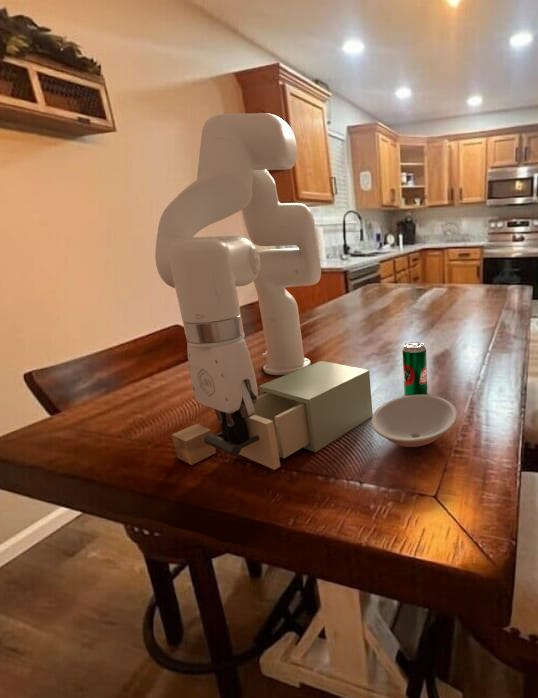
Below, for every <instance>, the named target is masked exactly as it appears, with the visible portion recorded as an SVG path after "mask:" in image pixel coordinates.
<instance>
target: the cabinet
mask: <svg viewBox="0 0 538 698" xmlns="http://www.w3.org/2000/svg"><path fill="white" fill-rule="evenodd" d="M371 389H372V388H371V376H370V369H364V368H362V367H361V368H360V367H355V366H350V365H346V364H341V363H335V362H329V361H326V360H325V361H324V360H320V361H317V362H316V363H312V364H311V365H310V366H307V367H305V368H302V369H300V370H297V371H295V372H292V373H290V374H287V375H281V376H280V377H277V378H275V379H272V380H270V381H267V382H265V383H263V384H260V385H258V390H259V394H260V395H263V394H265V393H271V394H274V395H278V396H281V397H285V398H288V399H291V400H295V401H298V402H302V403H305V404H306V410H307V418H308V426H309V433H310V441H311V443H309V444H307V445H306V446H304V447H302V448H301V449H305V450H308V451H311V452H313V453H317V452H318V451H320V450H322V449H323V448H325V447H327V446H328V445H329V444H331V443H333V442H335V441H336V440H337V439H339V438H340V437H342V436H344V435H346V434H347V433H349V432H351V430H353V429H355V428H356V427H358V426H359V425H361V424H363V423H364V422H366V421H367V420H369V419H370V418H372V417H373V414H374V413H373V403H372V402H373V401H372V390H371ZM260 395H259V396H260Z"/></svg>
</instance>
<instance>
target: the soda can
mask: <svg viewBox="0 0 538 698" xmlns="http://www.w3.org/2000/svg"><path fill="white" fill-rule="evenodd" d="M401 351H402V370H403V393H404V394H403V395H404V396H409V395H428V363H427V361H428V360H427V348H426V346H425V343H423V342H419V341H411V342H406V343H404V344H403V348H402V350H401Z"/></svg>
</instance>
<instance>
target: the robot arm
mask: <svg viewBox="0 0 538 698" xmlns="http://www.w3.org/2000/svg"><path fill="white" fill-rule="evenodd" d="M290 126H291V125H289V124H288V123H287V122H286V121H285V120H283V119H282V118H281V117H279V116H277V115H275V114H271V113H264V112H259V113H258V112H257V113H255V112H254V113H223V114H222V113H221V114H216V115H213V116H210V118H208V119H207V120H206V121H205V122H204V124H203V127H202V130H201V136H200V137H201V138H200V147H199V155H198V164H197V165H198V166H197V176H196V180H194V181H193V182H191V183H190V184H188V186H187V187H185V188H184V189H183V190H182V191H181V192H180V193H179V194H178V195H177V196H176V197H175V198H174V199H172V201H171V202H170V203H169V204H168V205H167V206H166V207H165V208H164V210H163V211H162V214H161V216H160V219H159V222H158V226H157V234H156V240H155V248H154V249H155V250H154V251H155V255H154V256H155V258H154V259H155V267H156V270H157V273H158V275H159V277H160V278H161V280H162V281H163V282H164V284H166V285H167V286H169V287H171V288H173V289H174V290H175V293H176V298H177V302H178V306H179V312H180V315H181V320H182V324H183V329H184V334H185V339H186V343H187V344H186V345H187V347H186V348H187V349H186V350H187V351H186V352H187V360H188V361H187V362H188V369H189V375H190V381H191V387H192V388H191V389H192V393H193V397H194V400H195V401H196V402H197V403H199V404H200V405H203V406H206V407H207V408H210V409H213V410H214V413H215V415H216V418H217V421H218V423H219V424H220V429H221V432H222V433H223V437H222V439H225V440H227V441H229V442H232V443H234V444H237V445H239V444H240V443H242V442H244V441H246V440H248V439H249V436H248V431H247V425H246V420H247V418H249V417H251V416H253V415H255V414H256V411H255V408H254V405H253V404H254V403H256V402H257V401H258V396H259V391H258V390H259V388H258V385H257V384H258V383H257V378H256V373H255V370H254V365H253V362H252V358H251V355H250V352H249V348H248V346H247V342H246V340H245V338H246V336H245V331H244V324H243V318H242V312H241V306H240V301H239V296H238V290H237V287H245V286H249V285H250V284H252V283H253V285H254V287H255V291H256V295H257V299H258V305H259V310H260V311H259V312H260V318H261V323H262V324H261V325H262V330H263V336H264V341H265V352H263V353H262V354H261V358H264V359H266V363H265V364H264V365H263V366H262V367H263V372H264V373H265V374H268V375H271V376H285V375H287V374H290V373H292V372H295V371H297V370H300V369H302V368H305V367H307V366H310V365H312V364H311V363H312V362H311V360H310V359H309V358H307V357H305V353H304V346H303V338H302V331H301V323H300V315H299V306H298V303H297V301H296V299H295V297H294V295H292V294H291V293H290V292H289V291H288V290H287V289H286V288H292V287H294V288H295V287H308V286H314V285H316V284H318V283H319V282H320V280H321V278H322V266H321V258H320V250H319V245H318V244H319V243H318V238H317V231H316V225H315V219H314V216H313V213H312V211H311V209H310V208H309V206H308V205H306V204H303V203H300V202H299V203H298V202H295V203H294V202H293V203H292V202H291V203H281V202H280V200H279V196H278V191H277V185H276V182H275V179H274V177H273V176H272V175H271V174H270V172H269V171H277V170H279V171H281V170H282V171H283V170H291V169H293V168H294V167H295V165H296V163H297V158H298V145H297V140H296V136H295V133H294V132H293V130H292V128H291V127H290ZM239 212H242V215H243V216H242V217H243V220H244V225H245V229H246V232H247V236H248V238H249V239H248V238H246V237H243V236H239V235H220V236H219V235H218V236H217V235H216V236H195V235H197V234H198V233H199V232H200V231H202V230H203V229H205V228H206V227H209V226H210V225H213V224H215V223H217V222H220V221H223V220H224V219H227V218H229V217H231V216H233V215H235V214H237V213H239ZM255 245H256V246H259V247H284V246H286V247H287V246H296V247H293V248H269V249H262V250H258V249H257V247H256V246H255ZM238 409H239V410H238Z"/></svg>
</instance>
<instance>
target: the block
mask: <svg viewBox="0 0 538 698" xmlns="http://www.w3.org/2000/svg"><path fill="white" fill-rule="evenodd" d="M208 434H213V430H212V429H210V428H208V427H205V426H203V425H200V424H199V423H196V424H193V425H191V426H188V427H186V428H183V429H181V430H179V431H177V432H174V433H171V439H172V442H173V446H174V450H175V453H176V458H177V459H179V460H181V461H183V462H185V463H187V464H188V465H190V466H193V465H195V464H197V463H199V462H201V461H203V460H205V459H207V458H209V457H211V456H213V455H215V454H217V448H215V447H213V446H211V445H208V444H206V443H205V441H204V438H205V436H206V435H208Z"/></svg>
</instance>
